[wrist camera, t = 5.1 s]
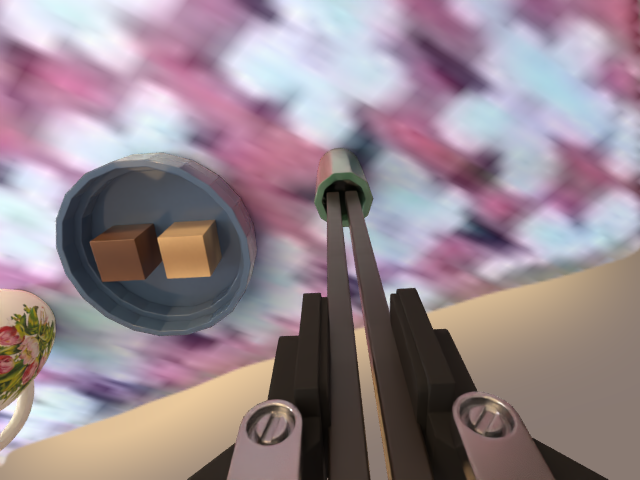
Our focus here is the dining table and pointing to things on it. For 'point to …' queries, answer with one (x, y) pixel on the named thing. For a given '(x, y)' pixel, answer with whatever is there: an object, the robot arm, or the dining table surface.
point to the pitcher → (22, 353)
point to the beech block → (190, 249)
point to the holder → (341, 182)
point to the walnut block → (126, 252)
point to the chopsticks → (388, 377)
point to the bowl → (162, 210)
